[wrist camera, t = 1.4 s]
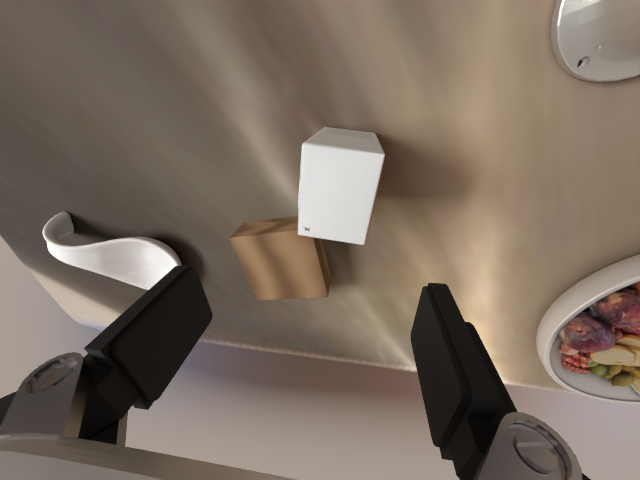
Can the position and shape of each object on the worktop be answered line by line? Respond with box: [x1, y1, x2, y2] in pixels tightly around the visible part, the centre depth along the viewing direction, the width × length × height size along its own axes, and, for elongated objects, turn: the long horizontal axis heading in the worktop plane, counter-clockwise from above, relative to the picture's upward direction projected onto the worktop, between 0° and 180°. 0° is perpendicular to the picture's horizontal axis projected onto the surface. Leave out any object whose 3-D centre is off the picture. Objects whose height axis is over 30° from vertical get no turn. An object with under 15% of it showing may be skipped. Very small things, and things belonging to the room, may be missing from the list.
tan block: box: [230, 216, 331, 300], centre depth 37 cm, size 12×12×5 cm
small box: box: [298, 127, 385, 245], centre depth 25 cm, size 8×6×13 cm
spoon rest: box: [43, 212, 182, 290], centre depth 41 cm, size 24×12×7 cm, turn 72°
